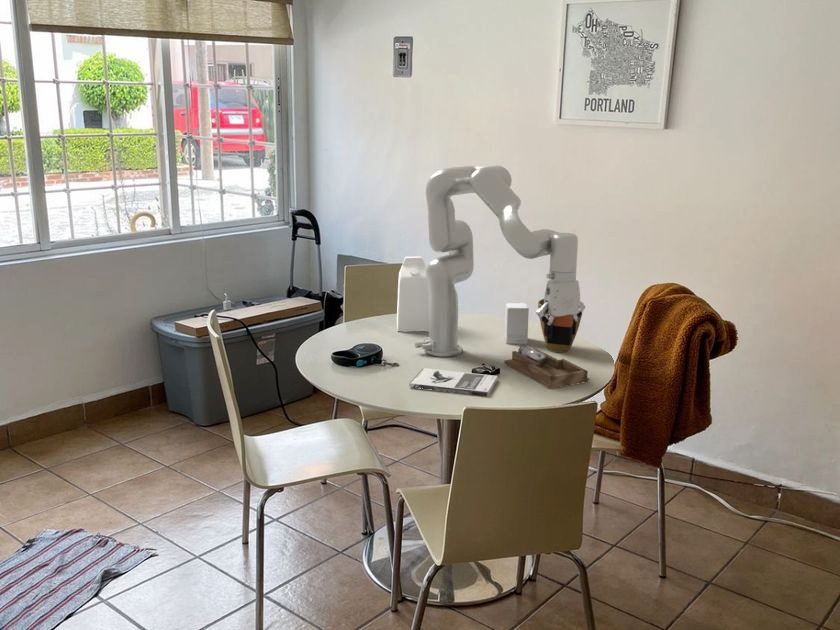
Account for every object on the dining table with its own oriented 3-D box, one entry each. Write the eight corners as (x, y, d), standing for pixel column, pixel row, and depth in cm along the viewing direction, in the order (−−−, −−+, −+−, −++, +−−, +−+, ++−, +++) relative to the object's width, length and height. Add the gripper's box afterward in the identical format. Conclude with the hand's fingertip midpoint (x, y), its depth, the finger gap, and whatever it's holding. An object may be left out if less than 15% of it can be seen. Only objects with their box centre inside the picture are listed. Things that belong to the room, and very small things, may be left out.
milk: (428, 322, 291) (429, 253, 285) (431, 331, 280) (431, 260, 273) (396, 323, 291) (396, 254, 284) (397, 331, 280) (397, 260, 273)
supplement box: (527, 344, 266) (529, 308, 263) (505, 343, 266) (507, 308, 263) (525, 337, 273) (526, 302, 270) (504, 337, 273) (505, 302, 270)
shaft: (535, 367, 239) (535, 354, 238) (517, 357, 248) (518, 345, 247) (546, 365, 241) (546, 353, 240) (528, 356, 250) (529, 344, 249)
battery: (549, 339, 233) (551, 307, 230) (572, 342, 230) (574, 309, 228) (546, 343, 229) (547, 310, 226) (569, 346, 226) (571, 312, 224)
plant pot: (528, 345, 265) (529, 299, 260) (566, 340, 270) (568, 295, 266) (550, 358, 251) (552, 310, 247) (590, 353, 256) (593, 306, 252)
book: (497, 382, 232) (497, 375, 231) (487, 398, 219) (487, 391, 218) (423, 374, 238) (423, 368, 237) (409, 389, 225) (409, 383, 225)
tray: (549, 388, 225) (549, 377, 224) (504, 363, 246) (504, 352, 245) (589, 381, 230) (589, 370, 229) (541, 357, 252) (542, 347, 251)
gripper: (544, 281, 218) (541, 342, 222) (595, 276, 225) (592, 335, 229) (529, 276, 224) (527, 335, 229) (579, 271, 231) (576, 328, 236)
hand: (559, 334), depth 229 cm, fingers closed on battery, 7 cm apart
